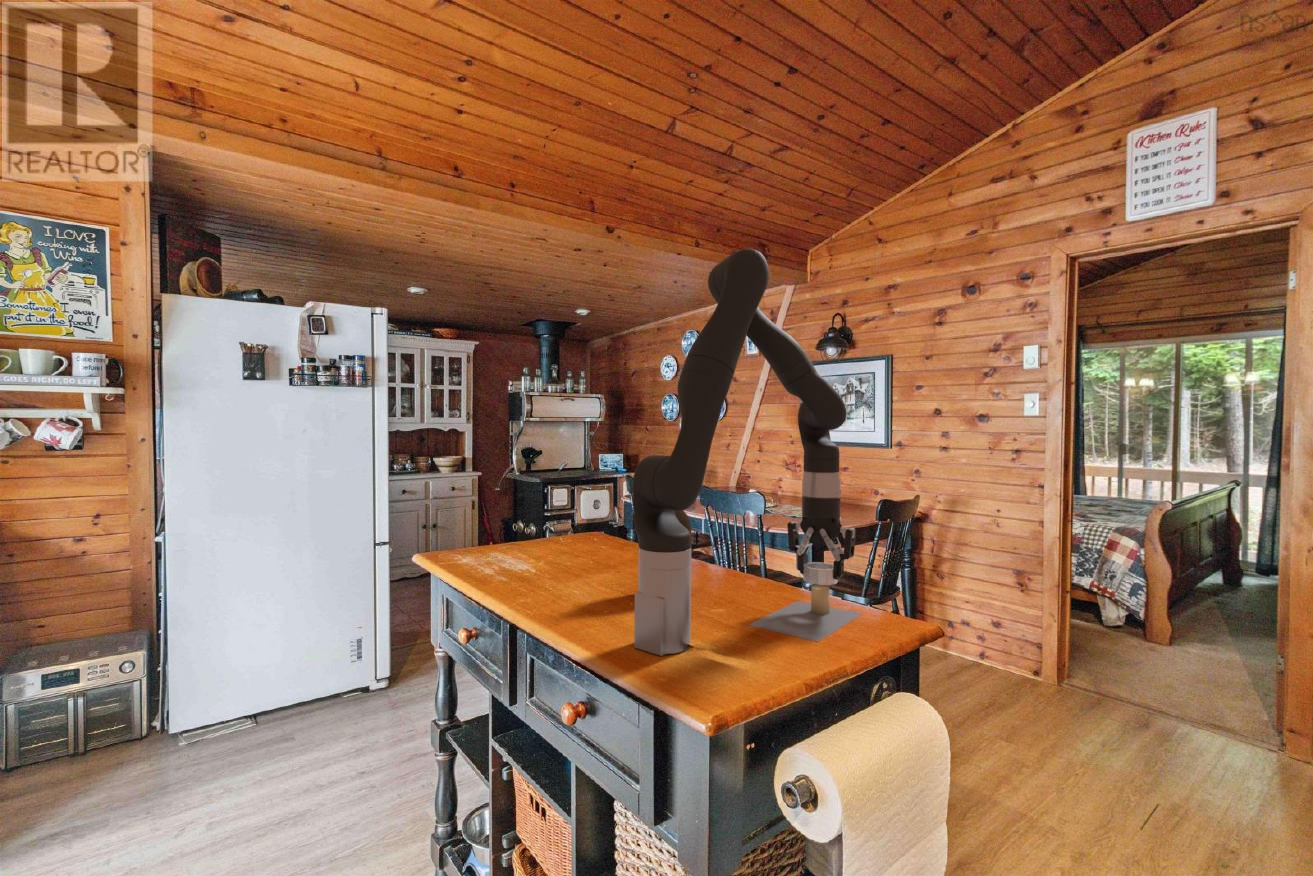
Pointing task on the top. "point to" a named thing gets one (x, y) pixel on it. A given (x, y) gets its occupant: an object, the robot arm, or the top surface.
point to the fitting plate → (808, 617)
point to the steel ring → (819, 573)
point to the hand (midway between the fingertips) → (820, 575)
